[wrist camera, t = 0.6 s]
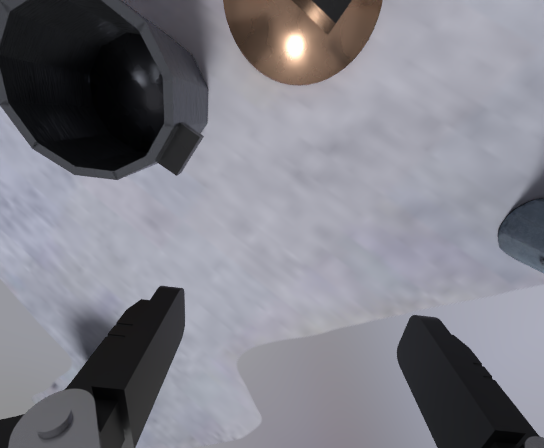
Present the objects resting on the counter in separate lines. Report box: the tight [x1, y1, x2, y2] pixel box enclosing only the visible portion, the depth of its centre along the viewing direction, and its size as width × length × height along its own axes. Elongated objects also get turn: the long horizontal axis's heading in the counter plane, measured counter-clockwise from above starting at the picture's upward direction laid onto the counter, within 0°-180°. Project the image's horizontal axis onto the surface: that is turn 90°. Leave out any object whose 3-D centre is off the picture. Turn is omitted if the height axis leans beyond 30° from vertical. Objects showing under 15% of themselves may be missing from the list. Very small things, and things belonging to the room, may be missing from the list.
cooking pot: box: [0, 0, 208, 180], centre depth 24 cm, size 13×17×11 cm
